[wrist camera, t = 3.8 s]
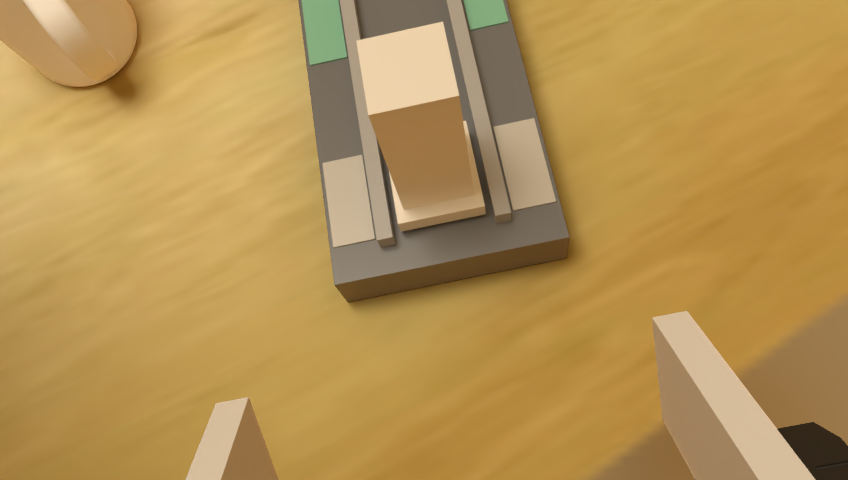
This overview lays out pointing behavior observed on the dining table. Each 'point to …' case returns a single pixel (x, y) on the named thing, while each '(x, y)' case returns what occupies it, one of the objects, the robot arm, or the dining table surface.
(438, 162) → the slider tab
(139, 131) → the dining table surface
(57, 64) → the mug
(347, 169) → the switch panel
